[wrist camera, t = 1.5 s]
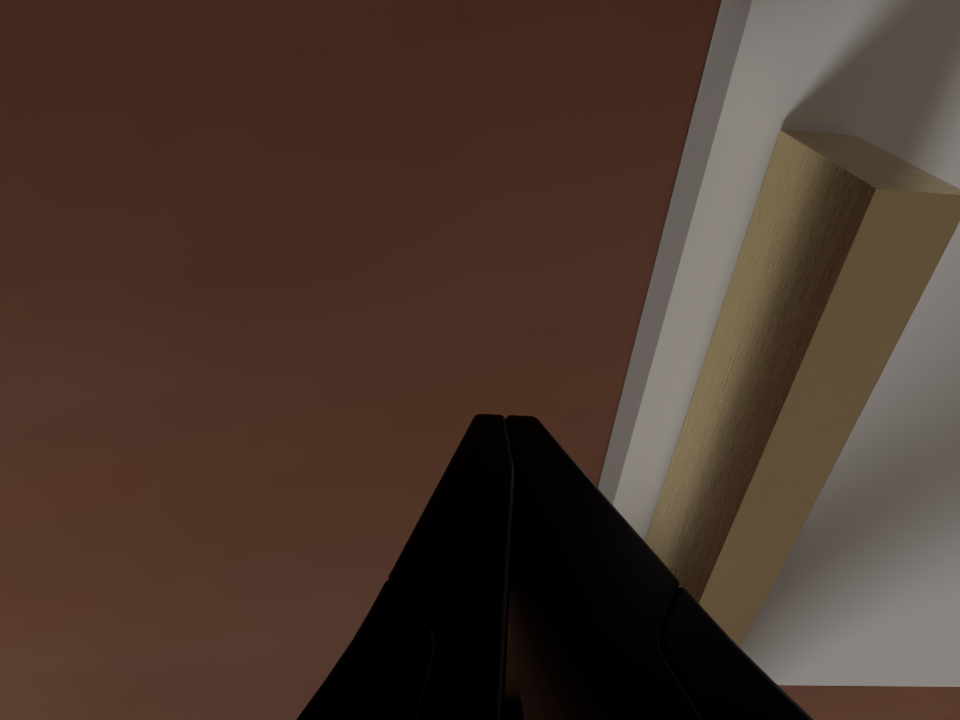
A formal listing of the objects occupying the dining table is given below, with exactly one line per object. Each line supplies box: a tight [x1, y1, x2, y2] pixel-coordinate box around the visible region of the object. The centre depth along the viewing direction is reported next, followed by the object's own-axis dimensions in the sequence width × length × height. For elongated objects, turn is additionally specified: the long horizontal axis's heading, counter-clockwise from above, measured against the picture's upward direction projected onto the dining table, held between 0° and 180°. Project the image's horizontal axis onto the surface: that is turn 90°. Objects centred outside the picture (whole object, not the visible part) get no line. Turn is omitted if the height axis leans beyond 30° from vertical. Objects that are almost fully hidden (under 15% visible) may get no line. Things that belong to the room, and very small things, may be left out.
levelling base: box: [598, 0, 960, 687], centre depth 18 cm, size 24×18×3 cm
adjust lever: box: [645, 130, 960, 648], centre depth 16 cm, size 17×4×4 cm, turn 175°
